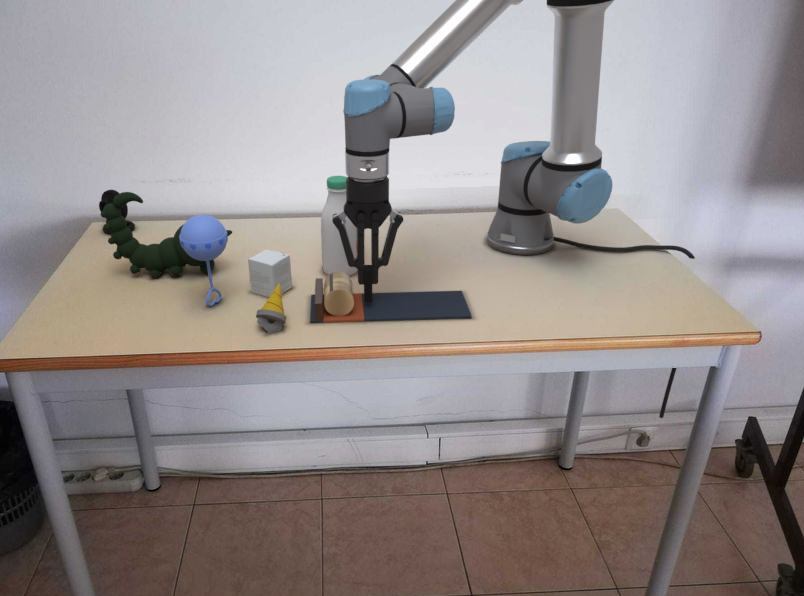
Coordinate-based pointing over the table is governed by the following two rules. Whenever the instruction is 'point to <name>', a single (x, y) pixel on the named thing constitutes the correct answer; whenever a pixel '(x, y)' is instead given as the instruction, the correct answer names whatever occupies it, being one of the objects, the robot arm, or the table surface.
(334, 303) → the roller
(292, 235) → the table surface
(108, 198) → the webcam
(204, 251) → the baby rattle
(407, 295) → the board
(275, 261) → the product box
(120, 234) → the toy figurine
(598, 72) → the robot arm
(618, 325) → the table surface
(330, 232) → the milk bottle
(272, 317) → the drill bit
